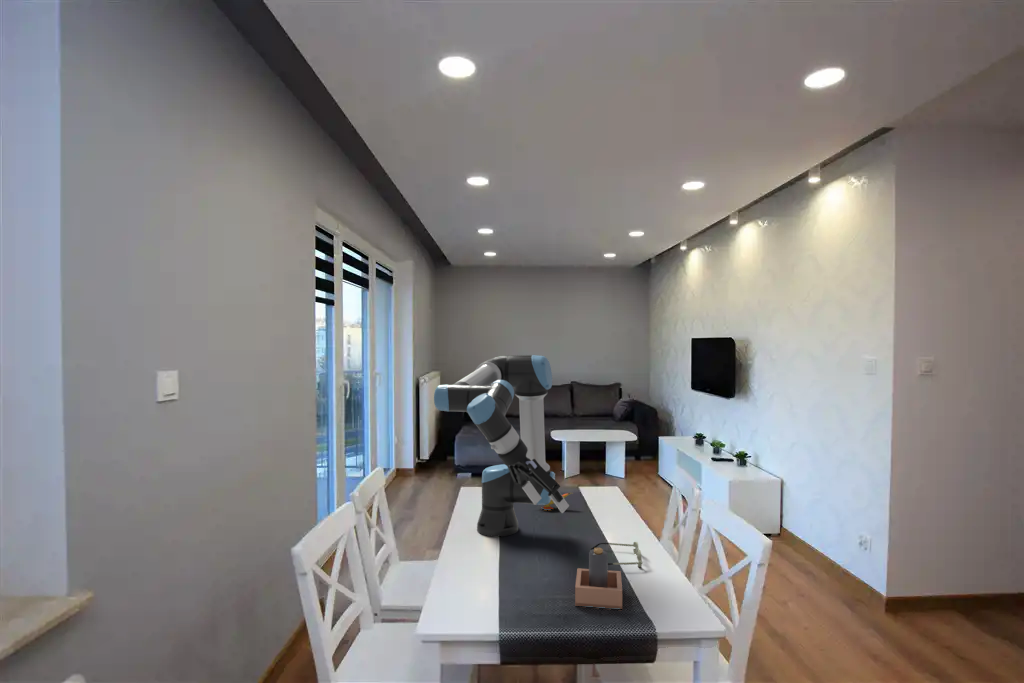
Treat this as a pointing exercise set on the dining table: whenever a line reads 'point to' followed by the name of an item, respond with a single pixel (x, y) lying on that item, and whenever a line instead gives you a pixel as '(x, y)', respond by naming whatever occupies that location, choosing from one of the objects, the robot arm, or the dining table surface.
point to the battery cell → (598, 568)
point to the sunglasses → (638, 552)
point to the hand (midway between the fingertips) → (551, 505)
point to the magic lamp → (553, 502)
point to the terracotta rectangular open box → (598, 591)
